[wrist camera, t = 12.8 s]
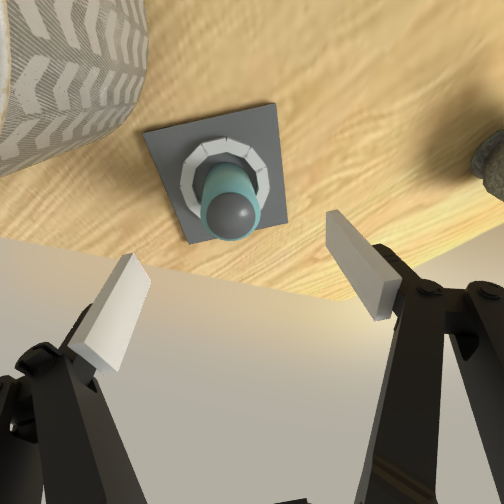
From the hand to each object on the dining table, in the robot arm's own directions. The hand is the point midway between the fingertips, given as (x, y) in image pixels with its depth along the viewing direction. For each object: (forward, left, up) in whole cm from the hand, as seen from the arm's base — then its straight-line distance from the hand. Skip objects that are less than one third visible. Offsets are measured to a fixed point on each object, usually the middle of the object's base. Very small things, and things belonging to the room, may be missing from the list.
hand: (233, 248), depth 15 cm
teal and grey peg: (0, 0, -14) cm, 14 cm away
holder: (0, 0, -15) cm, 15 cm away
